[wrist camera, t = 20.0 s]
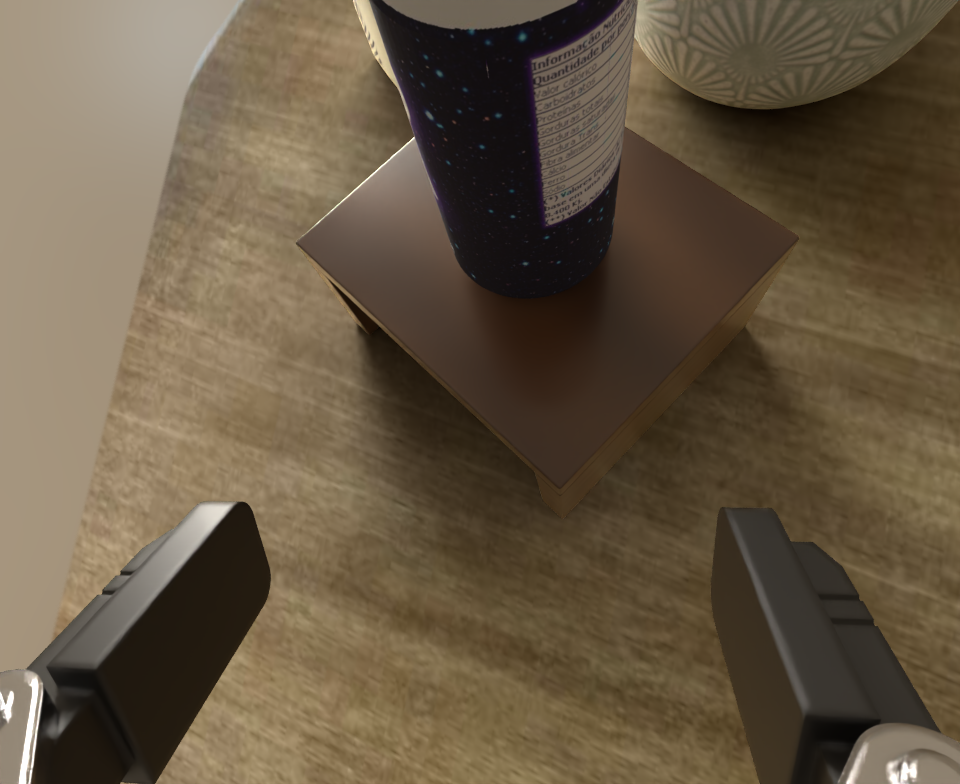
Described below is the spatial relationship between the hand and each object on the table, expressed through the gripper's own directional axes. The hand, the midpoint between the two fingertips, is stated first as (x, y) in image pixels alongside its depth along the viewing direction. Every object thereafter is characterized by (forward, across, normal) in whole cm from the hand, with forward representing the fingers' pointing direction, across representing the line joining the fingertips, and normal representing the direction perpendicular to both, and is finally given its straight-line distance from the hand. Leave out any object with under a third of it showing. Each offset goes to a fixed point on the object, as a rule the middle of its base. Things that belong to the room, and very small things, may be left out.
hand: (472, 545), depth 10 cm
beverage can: (+14, 0, -2) cm, 14 cm away
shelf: (+19, 0, +3) cm, 19 cm away
